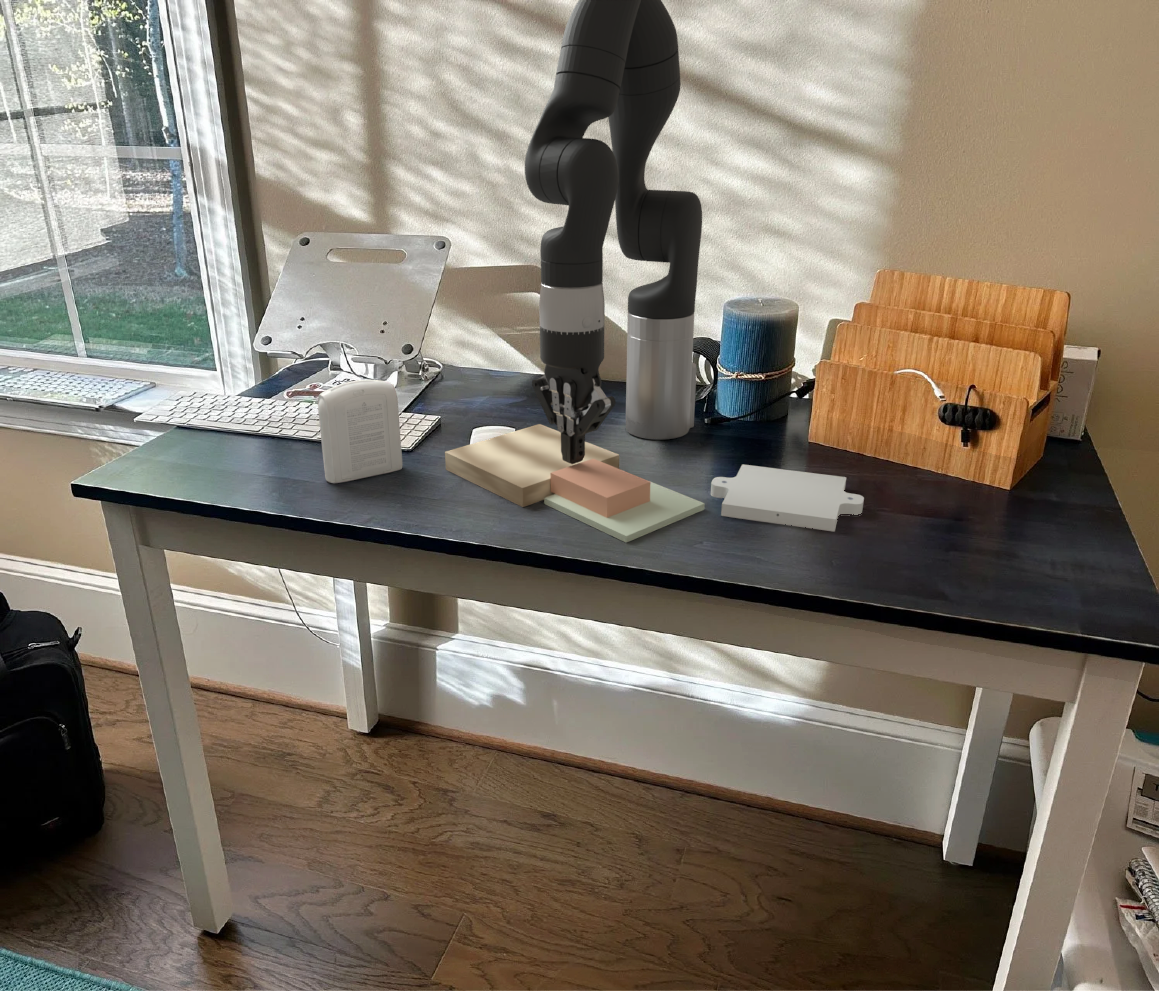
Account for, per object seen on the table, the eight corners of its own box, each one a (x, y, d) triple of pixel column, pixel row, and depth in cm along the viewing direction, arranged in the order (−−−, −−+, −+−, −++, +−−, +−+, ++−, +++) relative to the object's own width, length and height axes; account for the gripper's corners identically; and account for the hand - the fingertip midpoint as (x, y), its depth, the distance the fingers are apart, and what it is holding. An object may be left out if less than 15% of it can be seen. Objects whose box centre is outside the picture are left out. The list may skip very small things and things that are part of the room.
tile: (593, 476, 120) (593, 458, 119) (649, 501, 113) (650, 481, 112) (550, 491, 116) (550, 472, 115) (606, 517, 109) (607, 497, 108)
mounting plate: (699, 515, 112) (700, 500, 112) (722, 475, 124) (722, 461, 123) (857, 538, 107) (859, 522, 106) (865, 494, 118) (867, 479, 117)
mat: (621, 475, 122) (621, 470, 122) (704, 509, 113) (704, 503, 113) (544, 503, 115) (544, 497, 114) (626, 542, 105) (626, 536, 105)
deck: (539, 440, 134) (539, 423, 133) (619, 472, 123) (619, 454, 122) (445, 469, 125) (444, 451, 124) (522, 507, 114) (522, 488, 113)
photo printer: (395, 460, 128) (387, 371, 123) (408, 470, 124) (401, 379, 119) (320, 476, 123) (309, 384, 118) (332, 488, 119) (321, 393, 114)
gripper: (635, 326, 108) (632, 468, 115) (559, 307, 117) (560, 440, 124) (586, 337, 103) (586, 484, 110) (510, 316, 112) (515, 454, 119)
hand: (572, 460), depth 117 cm, fingers closed
